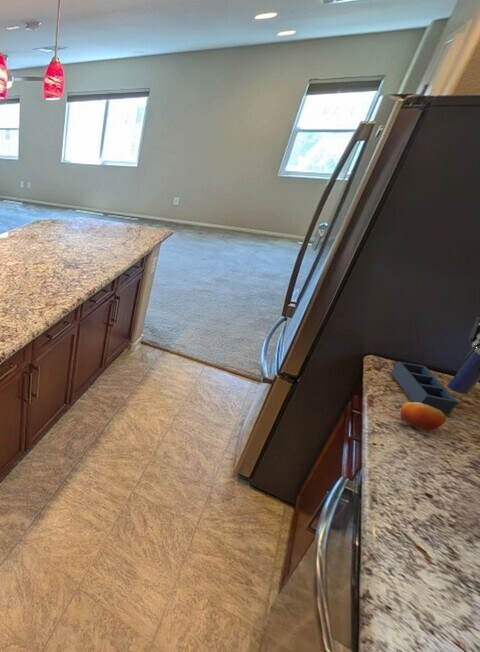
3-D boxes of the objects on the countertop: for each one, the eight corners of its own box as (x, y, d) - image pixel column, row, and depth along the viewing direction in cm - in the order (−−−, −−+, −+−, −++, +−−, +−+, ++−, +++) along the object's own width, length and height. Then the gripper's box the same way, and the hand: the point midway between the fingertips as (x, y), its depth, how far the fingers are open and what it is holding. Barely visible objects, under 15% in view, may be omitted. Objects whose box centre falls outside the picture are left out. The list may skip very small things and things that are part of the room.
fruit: (396, 423, 105) (411, 398, 104) (390, 422, 111) (405, 397, 110) (439, 440, 100) (455, 413, 99) (431, 437, 106) (446, 412, 105)
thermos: (463, 386, 97) (495, 347, 91) (473, 395, 94) (506, 356, 88) (443, 382, 98) (472, 344, 92) (451, 392, 95) (482, 352, 89)
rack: (417, 377, 124) (425, 366, 121) (448, 414, 110) (458, 402, 107) (390, 372, 126) (397, 361, 124) (417, 407, 112) (426, 396, 110)
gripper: (578, 322, 77) (519, 388, 85) (526, 292, 88) (479, 353, 97) (524, 315, 80) (472, 380, 88) (480, 288, 91) (438, 347, 99)
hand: (476, 366), depth 92 cm, fingers closed on thermos, 3 cm apart
